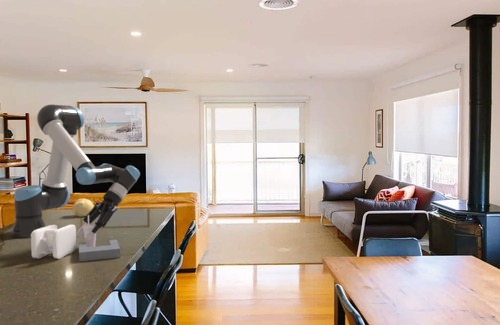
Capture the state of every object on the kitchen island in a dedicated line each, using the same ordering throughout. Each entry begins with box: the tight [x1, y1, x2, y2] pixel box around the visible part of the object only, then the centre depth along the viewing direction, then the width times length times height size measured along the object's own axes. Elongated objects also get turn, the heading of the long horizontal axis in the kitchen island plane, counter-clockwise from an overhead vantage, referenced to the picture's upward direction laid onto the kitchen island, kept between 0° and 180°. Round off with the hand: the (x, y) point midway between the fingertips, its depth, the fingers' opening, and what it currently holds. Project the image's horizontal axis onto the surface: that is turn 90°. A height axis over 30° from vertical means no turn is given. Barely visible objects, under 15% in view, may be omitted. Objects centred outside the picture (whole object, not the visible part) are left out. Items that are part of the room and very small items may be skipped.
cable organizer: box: [30, 224, 77, 260], centre depth 167 cm, size 15×11×12 cm
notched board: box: [78, 239, 121, 262], centre depth 170 cm, size 16×15×4 cm
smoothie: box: [81, 215, 98, 247], centre depth 180 cm, size 6×6×14 cm
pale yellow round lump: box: [72, 197, 95, 218], centre depth 252 cm, size 11×12×11 cm
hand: (82, 237), depth 177 cm, fingers closed on smoothie, 6 cm apart
